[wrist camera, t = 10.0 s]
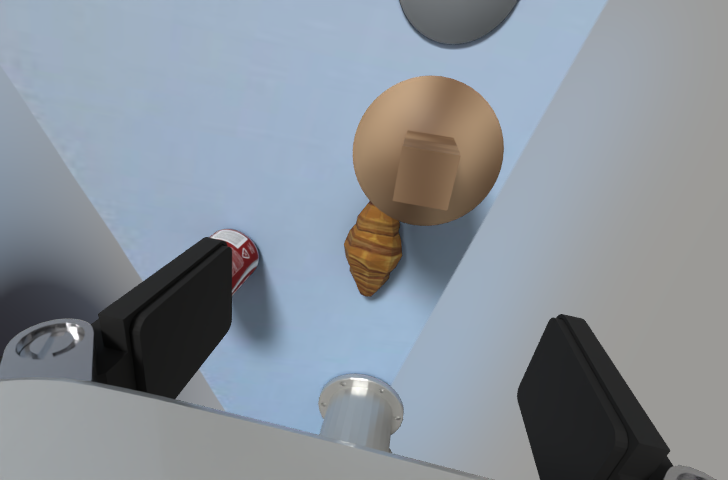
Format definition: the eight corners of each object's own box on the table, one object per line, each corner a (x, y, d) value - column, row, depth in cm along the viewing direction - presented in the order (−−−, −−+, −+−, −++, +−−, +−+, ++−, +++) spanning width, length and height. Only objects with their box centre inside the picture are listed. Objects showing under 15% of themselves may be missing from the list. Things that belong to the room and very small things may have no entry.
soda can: (220, 216, 46) (155, 261, 35) (268, 243, 46) (220, 295, 35) (205, 258, 49) (141, 311, 38) (251, 282, 49) (201, 341, 38)
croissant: (355, 182, 42) (346, 196, 37) (414, 193, 41) (413, 208, 36) (341, 283, 47) (332, 305, 43) (393, 294, 47) (389, 318, 42)
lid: (520, 88, 24) (554, 94, 18) (478, 232, 29) (492, 276, 23) (365, 64, 25) (344, 62, 19) (347, 207, 30) (326, 244, 23)
